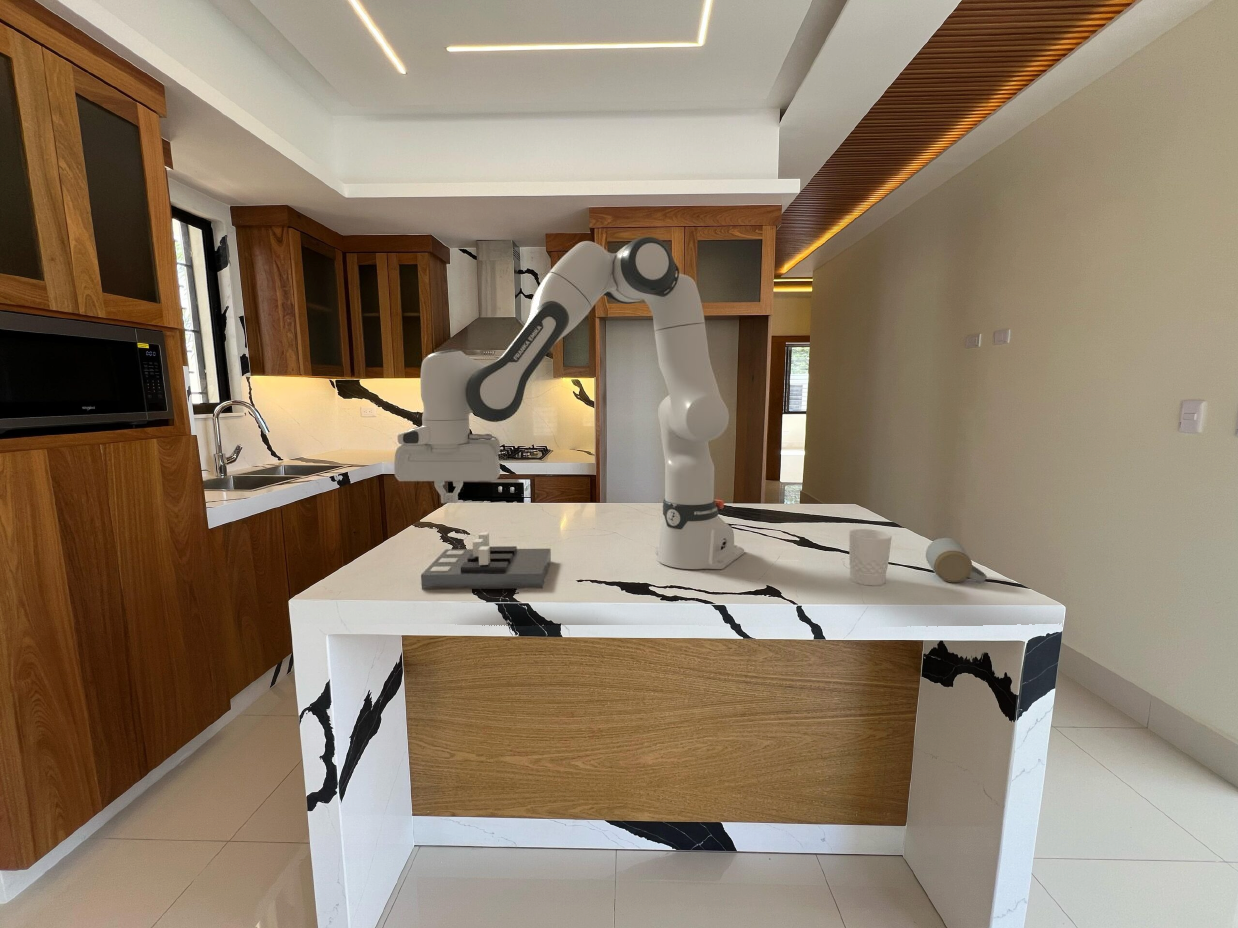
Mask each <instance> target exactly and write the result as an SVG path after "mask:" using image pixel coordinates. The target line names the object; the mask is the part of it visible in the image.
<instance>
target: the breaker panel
mask: <svg viewBox="0 0 1238 928" xmlns="http://www.w3.org/2000/svg"><path fill="white" fill-rule="evenodd" d="M551 550H552V549H551V548H517V546H516V545H515V546H514V545H513V546H505V545H504V546H502V545H501V546H490V562H489V564H488V565H479V557H473V548H462V549H461V548H458V549H455V548H454V549H453V548H450V549H449V548H447V549H445V550H443V552H442V553H440V555H439V556H438V557H437V558H436V559H435V560H433V562H431V564H430V565H429V566H428V567H427V568H426V569H425V570H424V571H423V572H422V573H421V574H420V578H421V579H420V580H421V581H420V584H421V590H463V589H464V590H465V589H469V590H471V589H473V590H477V589H479V590H481V589H482V590H483V589H484V590H485V589H486V590H487V589H488V590H489V589H490V590H493V589H543V587H544V583H545V581H546V577H547V575H548V571H549V568H550V565H551V562H552V558H551V556H552V554H551Z"/></svg>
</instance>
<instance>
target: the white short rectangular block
mask: <svg viewBox="0 0 1238 928" xmlns="http://www.w3.org/2000/svg"><path fill="white" fill-rule="evenodd" d="M478 539H483V542H484V546H490V532H489V531H487V532H486V531H484V532H483V531H481V532H480V533H479V534H478Z"/></svg>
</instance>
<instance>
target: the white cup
mask: <svg viewBox="0 0 1238 928" xmlns="http://www.w3.org/2000/svg"><path fill="white" fill-rule="evenodd" d="M892 538H893V537H892V534H890V533H888V532H886V531H882V530H878V529H871V528H856V529H855V528H854V529H852V530H849V545H848V546H849V547H848V548H849V550H848V552H849V557H848V558H849V579H850V580H851V581H852V582H854V583H857V584H859V585H864V586H871V587H872V586H874V587H876V586H882V585H884V584H885V583H886V579H887V571H888V566H889V560H890V552H891V545H892Z"/></svg>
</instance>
